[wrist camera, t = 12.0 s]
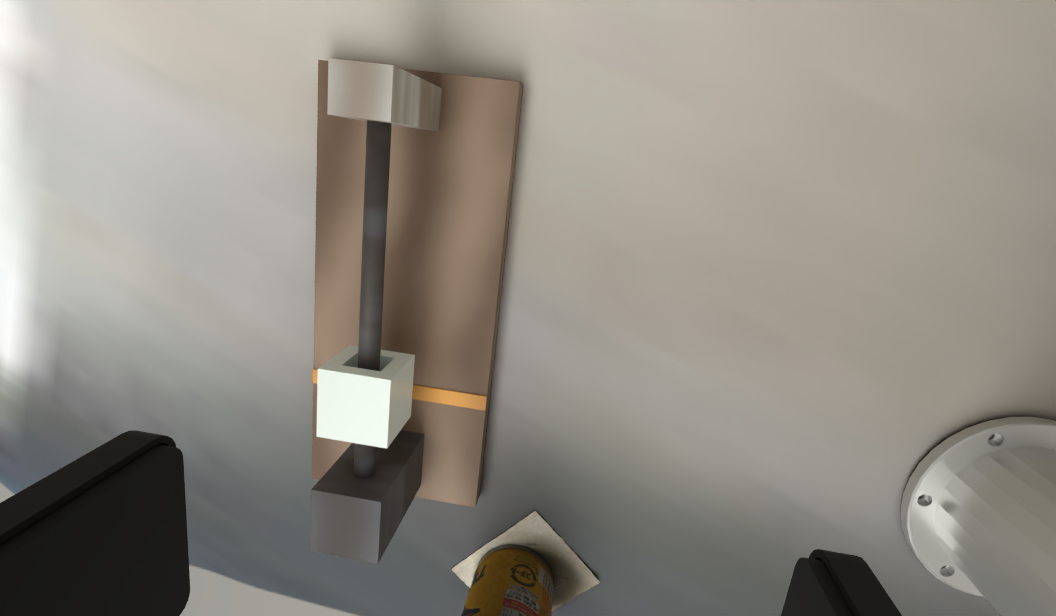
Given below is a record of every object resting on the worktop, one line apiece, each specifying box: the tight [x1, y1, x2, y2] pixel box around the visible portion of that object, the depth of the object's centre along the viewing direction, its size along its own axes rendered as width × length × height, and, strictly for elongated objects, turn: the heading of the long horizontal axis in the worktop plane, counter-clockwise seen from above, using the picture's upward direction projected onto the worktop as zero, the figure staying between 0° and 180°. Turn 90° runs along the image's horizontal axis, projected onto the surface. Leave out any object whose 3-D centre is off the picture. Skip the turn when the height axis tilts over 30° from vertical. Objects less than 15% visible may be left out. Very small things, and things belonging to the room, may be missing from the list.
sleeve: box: [316, 345, 415, 449], centre depth 32 cm, size 4×4×4 cm
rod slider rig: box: [310, 58, 523, 564], centre depth 33 cm, size 12×28×10 cm, turn 173°
